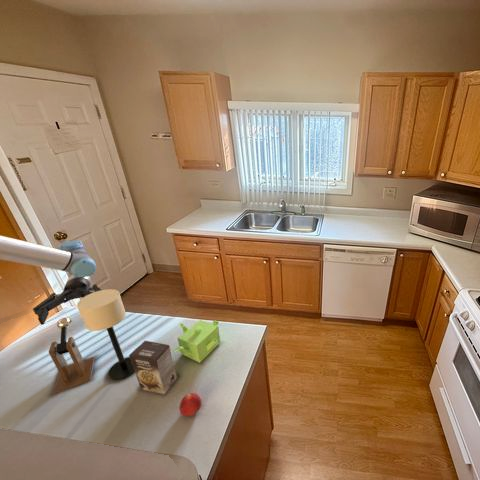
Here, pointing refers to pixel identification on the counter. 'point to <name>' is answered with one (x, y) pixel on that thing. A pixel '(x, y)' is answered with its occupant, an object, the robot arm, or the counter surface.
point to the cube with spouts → (198, 340)
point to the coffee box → (154, 366)
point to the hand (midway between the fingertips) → (67, 314)
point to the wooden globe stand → (71, 367)
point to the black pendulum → (63, 335)
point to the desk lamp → (107, 324)
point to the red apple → (190, 404)
